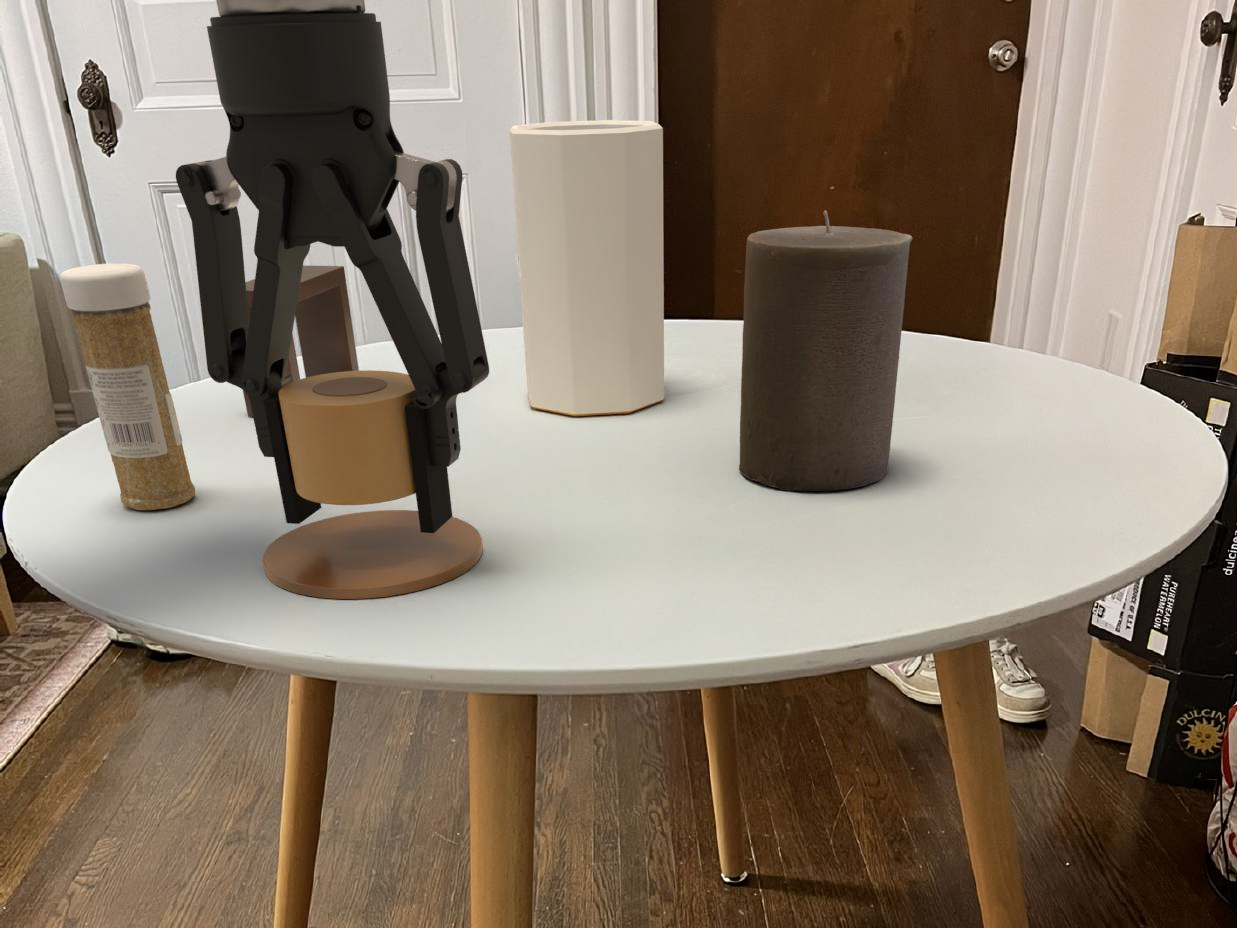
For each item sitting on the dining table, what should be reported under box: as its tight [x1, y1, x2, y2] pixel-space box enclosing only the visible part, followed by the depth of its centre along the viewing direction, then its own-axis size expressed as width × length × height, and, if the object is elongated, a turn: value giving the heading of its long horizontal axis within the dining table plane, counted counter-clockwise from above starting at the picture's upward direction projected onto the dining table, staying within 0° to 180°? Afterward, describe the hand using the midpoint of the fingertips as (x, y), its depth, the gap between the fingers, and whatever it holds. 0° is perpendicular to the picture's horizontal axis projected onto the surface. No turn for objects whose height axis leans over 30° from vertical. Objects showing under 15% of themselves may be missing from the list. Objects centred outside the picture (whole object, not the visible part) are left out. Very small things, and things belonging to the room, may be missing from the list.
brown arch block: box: [242, 264, 360, 418], centre depth 92 cm, size 4×11×9 cm, turn 166°
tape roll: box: [278, 369, 419, 506], centre depth 62 cm, size 7×7×5 cm
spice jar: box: [59, 263, 196, 511], centre depth 71 cm, size 5×5×14 cm
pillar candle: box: [738, 210, 914, 492], centre depth 73 cm, size 10×10×15 cm
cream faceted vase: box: [509, 119, 665, 417], centre depth 88 cm, size 11×11×18 cm
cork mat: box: [262, 509, 483, 600], centre depth 65 cm, size 12×12×1 cm
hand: (369, 519), depth 64 cm, fingers closed on tape roll, 7 cm apart
